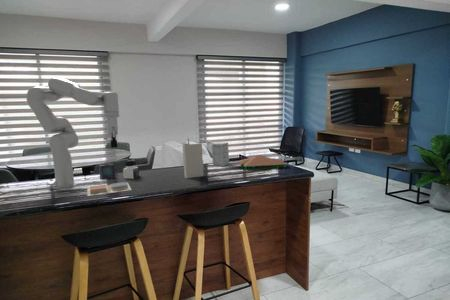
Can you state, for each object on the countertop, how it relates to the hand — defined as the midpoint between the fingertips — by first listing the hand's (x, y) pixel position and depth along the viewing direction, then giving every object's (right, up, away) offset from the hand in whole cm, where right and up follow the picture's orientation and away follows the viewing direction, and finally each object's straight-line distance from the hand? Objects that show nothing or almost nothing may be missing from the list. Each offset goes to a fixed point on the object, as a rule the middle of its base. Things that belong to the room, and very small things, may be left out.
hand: (114, 147), depth 169 cm
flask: (-15, -20, +28) cm, 38 cm away
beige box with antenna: (+42, -19, +26) cm, 53 cm away
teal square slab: (-8, -22, -2) cm, 24 cm away
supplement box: (+60, -13, +60) cm, 85 cm away
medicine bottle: (+2, -20, +25) cm, 32 cm away
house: (+89, -14, +50) cm, 103 cm away
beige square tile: (+2, -21, +2) cm, 22 cm away
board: (-2, -24, -2) cm, 24 cm away
